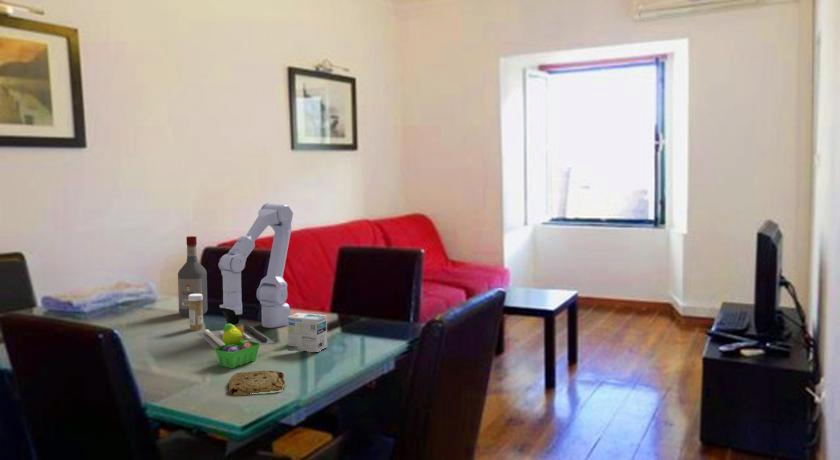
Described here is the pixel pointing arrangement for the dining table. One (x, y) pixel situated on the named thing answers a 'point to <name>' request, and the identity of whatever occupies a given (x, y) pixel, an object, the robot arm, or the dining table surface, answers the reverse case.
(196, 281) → the liquor
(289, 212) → the robot arm
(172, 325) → the dining table surface
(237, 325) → the block
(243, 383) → the pastry
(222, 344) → the white rounded rod
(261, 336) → the dark grey rounded rod
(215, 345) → the panel
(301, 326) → the light bulb box
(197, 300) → the sprinkles bottle
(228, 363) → the fruit basket
